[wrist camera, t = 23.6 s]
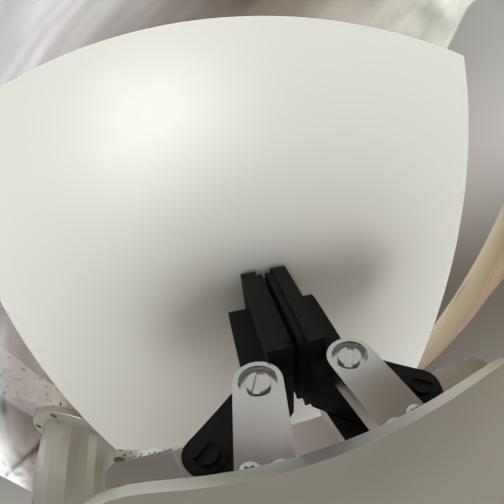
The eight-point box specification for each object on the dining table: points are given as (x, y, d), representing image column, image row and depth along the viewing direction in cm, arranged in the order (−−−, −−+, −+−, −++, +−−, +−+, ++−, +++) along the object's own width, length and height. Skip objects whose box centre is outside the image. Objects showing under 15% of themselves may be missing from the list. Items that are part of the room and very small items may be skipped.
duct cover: (405, 368, 18) (412, 377, 18) (116, 438, 15) (116, 449, 15) (449, 56, 9) (463, 55, 8) (-39, 121, 6) (-52, 124, 5)
